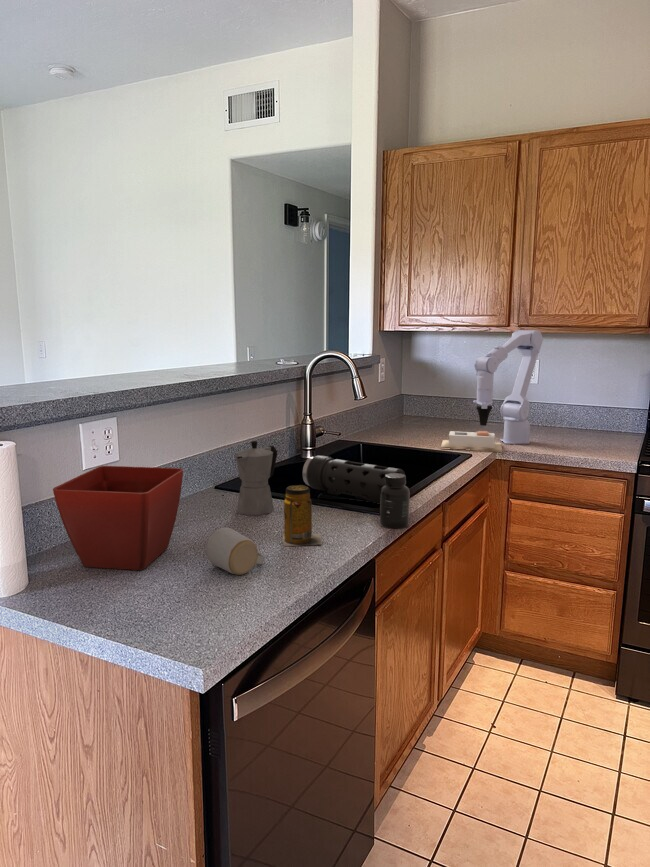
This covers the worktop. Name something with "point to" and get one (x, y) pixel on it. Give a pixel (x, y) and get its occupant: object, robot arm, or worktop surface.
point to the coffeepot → (255, 479)
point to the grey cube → (461, 433)
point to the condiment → (298, 518)
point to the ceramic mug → (232, 551)
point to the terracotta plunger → (482, 433)
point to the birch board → (496, 447)
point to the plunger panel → (471, 440)
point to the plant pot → (120, 514)
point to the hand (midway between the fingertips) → (483, 425)
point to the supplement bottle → (394, 502)
